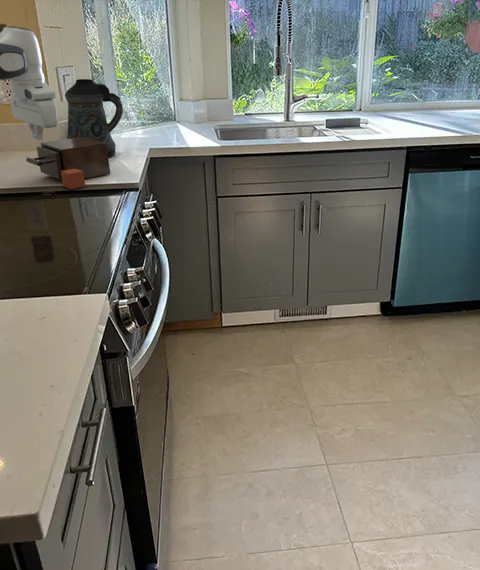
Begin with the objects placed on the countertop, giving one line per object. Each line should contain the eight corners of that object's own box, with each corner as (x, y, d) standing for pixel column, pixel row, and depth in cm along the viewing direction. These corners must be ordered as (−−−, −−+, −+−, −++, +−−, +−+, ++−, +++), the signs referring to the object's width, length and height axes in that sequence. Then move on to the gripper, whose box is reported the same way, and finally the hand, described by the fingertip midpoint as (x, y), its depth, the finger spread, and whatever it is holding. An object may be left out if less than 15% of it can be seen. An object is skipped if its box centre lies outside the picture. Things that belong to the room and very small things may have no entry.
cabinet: (66, 181, 175) (61, 149, 171) (45, 173, 183) (40, 142, 179) (110, 173, 186) (106, 143, 181) (89, 166, 193) (85, 136, 189)
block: (70, 189, 169) (68, 173, 167) (62, 186, 171) (60, 170, 169) (85, 186, 172) (83, 171, 170) (77, 183, 174) (75, 168, 173)
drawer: (43, 182, 171) (39, 155, 168) (25, 174, 177) (20, 148, 174) (100, 171, 184) (97, 146, 180) (81, 165, 190) (78, 140, 187)
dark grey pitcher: (58, 154, 206) (45, 79, 195) (110, 145, 219) (100, 74, 208) (80, 163, 196) (67, 84, 185) (133, 154, 208) (124, 80, 197)
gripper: (1, 86, 169) (10, 135, 175) (35, 94, 158) (44, 146, 163) (23, 84, 174) (31, 132, 180) (58, 92, 162) (66, 143, 168)
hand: (38, 139), depth 171 cm, fingers closed
